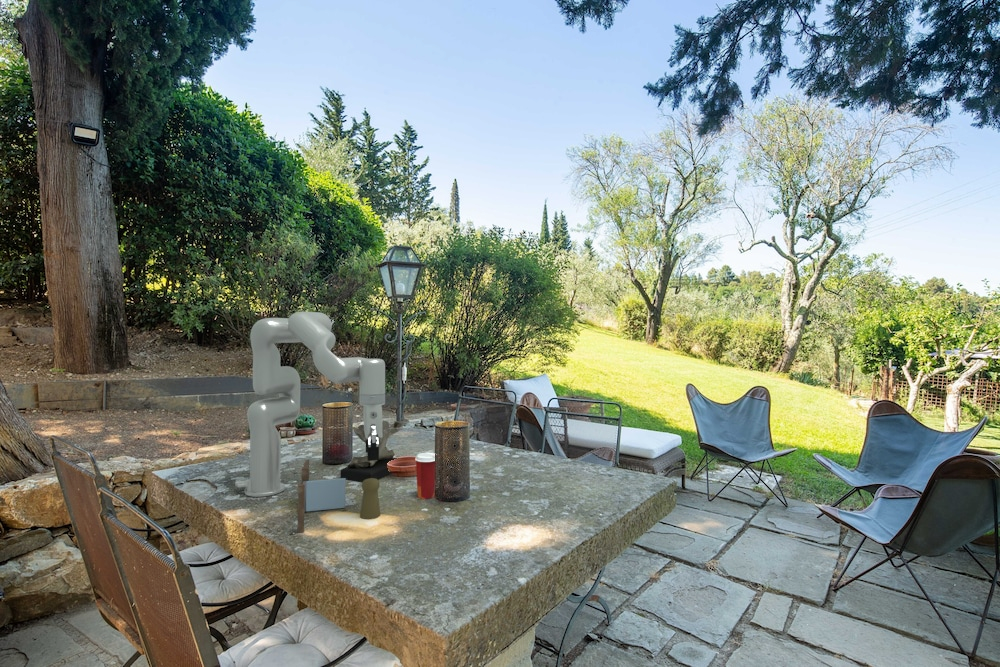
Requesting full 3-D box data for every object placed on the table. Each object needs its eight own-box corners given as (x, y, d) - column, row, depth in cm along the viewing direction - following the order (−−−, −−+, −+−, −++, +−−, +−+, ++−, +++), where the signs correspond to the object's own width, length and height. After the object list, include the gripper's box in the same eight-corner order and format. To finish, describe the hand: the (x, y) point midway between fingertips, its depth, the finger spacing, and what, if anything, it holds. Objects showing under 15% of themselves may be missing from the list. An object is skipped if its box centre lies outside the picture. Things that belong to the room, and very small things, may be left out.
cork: (362, 511, 147) (362, 476, 147) (381, 511, 148) (382, 476, 148) (357, 519, 141) (358, 482, 141) (378, 519, 142) (379, 482, 142)
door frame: (296, 533, 131) (297, 486, 131) (303, 499, 157) (304, 459, 157) (304, 532, 132) (305, 485, 132) (310, 498, 158) (310, 459, 158)
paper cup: (441, 494, 164) (442, 453, 164) (429, 501, 157) (429, 459, 157) (422, 490, 167) (423, 451, 167) (409, 497, 160) (410, 456, 160)
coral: (379, 462, 202) (380, 411, 202) (421, 468, 194) (421, 415, 194) (338, 478, 179) (339, 421, 179) (383, 486, 171) (384, 427, 171)
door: (345, 507, 149) (345, 479, 149) (302, 511, 145) (302, 482, 145) (345, 506, 151) (345, 477, 150) (302, 510, 146) (302, 481, 146)
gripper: (387, 403, 137) (387, 462, 137) (382, 395, 154) (382, 448, 154) (360, 404, 135) (360, 464, 135) (358, 396, 151) (357, 450, 151)
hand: (372, 456), depth 144 cm, fingers open, 9 cm apart
